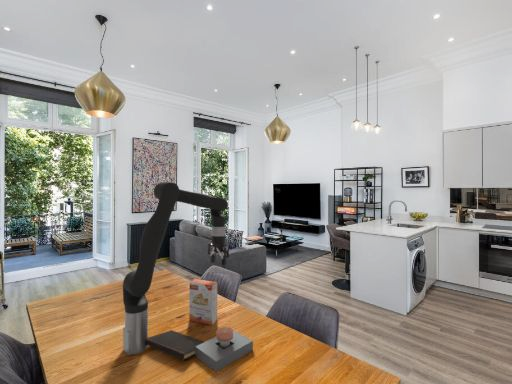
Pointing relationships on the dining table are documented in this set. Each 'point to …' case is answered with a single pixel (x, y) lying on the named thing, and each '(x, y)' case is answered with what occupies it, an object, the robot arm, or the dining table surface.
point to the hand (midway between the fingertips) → (218, 263)
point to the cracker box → (203, 301)
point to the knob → (224, 336)
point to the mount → (223, 351)
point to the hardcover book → (174, 344)
